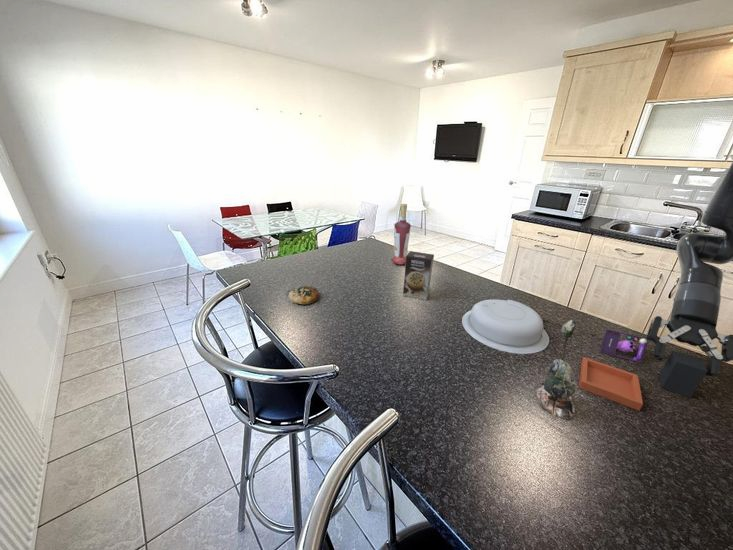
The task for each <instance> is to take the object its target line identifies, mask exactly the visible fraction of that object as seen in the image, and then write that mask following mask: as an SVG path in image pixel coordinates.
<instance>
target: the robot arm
mask: <svg viewBox="0 0 733 550" xmlns="http://www.w3.org/2000/svg"><path fill="white" fill-rule="evenodd" d="M700 220H701V223H702V224H703V225H705V226H707V227H709V228H713V229H717V230H719V231H722V233H723V234H722V235H715V234H708V233H700V232H689V233H688V234H685V235H683V236H682V237H681V238H680V239H679V240H678V242H677V244H676V256H677V259H678V262H679V268H680V277H679V282H678V286H677V290H676V292H675V294H674V298H673V303H672V308H671V312H670V313H671V314H670V319H669V320H667V319H664V318H662V316H660V315H656V316H655V317H654V318H652V319H651V321H650V325H649V327H648V331H647V334H646V337H645V338H647V339H648V341H651V342H652V343H654V349H653V357H654V358H655V360H656V361H657V360H658V361H662V360H664V357H665V353H666V352H665V351H666V347H667V344H666V343H668V342H670V341H672V340H674V339H675V340H676V341H677V342H678V343H682V344H688V345H690V346H691V347H692V346H693V347H699V349H700V350H701V351H702V352H703V353H704V354H705V355H706V356H707V357H708V359H707V362H706V363H707V364H706V369H707V373H706V374H705V376H708V377H714V376H716V375H719V373H720V369H721V364H722V362H724V363H728V362H730V361H733V334H723V333H719V332H718V331H717V325H718V319H719V312H720V307H721V300H722V297H721V293H722V292H721V290H722V284H723V279H724V272H723V270H722V269H721V268H720V267H718V266H715V265H725V264H728V263H730V262H732V261H733V161H732V162H731V163H730V166H729V168H728V170H727V171H726V173H725V174H724V176H723V178H722V180H721V181H720V183H718V186H717V188H716V189H715V191H714V193H713V195H712V196H711V198H710V201H709V203H708V204H707V207H706V208H705V211H704V212H703V214H702V216H701V219H700ZM713 264H714V265H713ZM664 326H665V327H666V329H668V331H669V333H668V334H666V335H664V336H663V337H660V336H658V334H659V331H660V328H663V327H664ZM715 339H716V340H718V343H719V344H720V345H721V351H719V350H718V346H717V345H716V343H715V342H714V341H713V340H715Z"/></svg>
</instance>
